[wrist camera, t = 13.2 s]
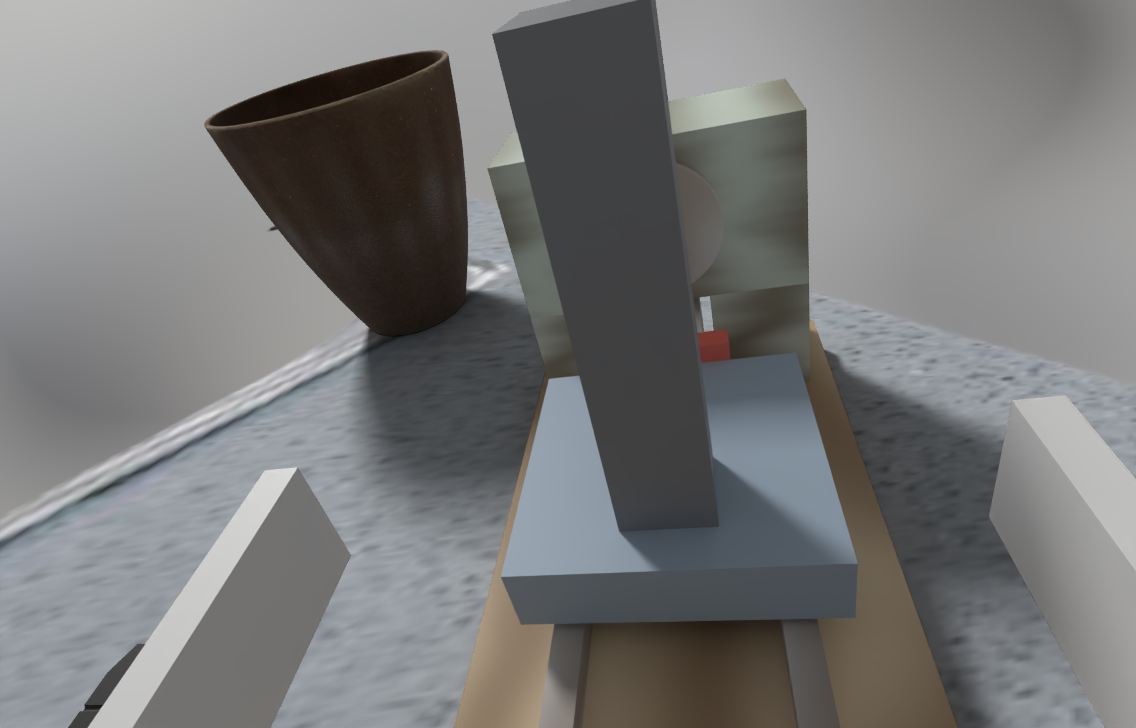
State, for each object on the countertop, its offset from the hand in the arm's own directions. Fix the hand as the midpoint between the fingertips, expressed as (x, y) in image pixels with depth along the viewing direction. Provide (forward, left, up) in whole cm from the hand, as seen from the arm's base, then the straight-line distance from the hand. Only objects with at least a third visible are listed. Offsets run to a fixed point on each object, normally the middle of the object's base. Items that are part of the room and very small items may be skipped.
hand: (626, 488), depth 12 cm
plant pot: (-19, +31, -12) cm, 38 cm away
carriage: (0, +8, -9) cm, 12 cm away
